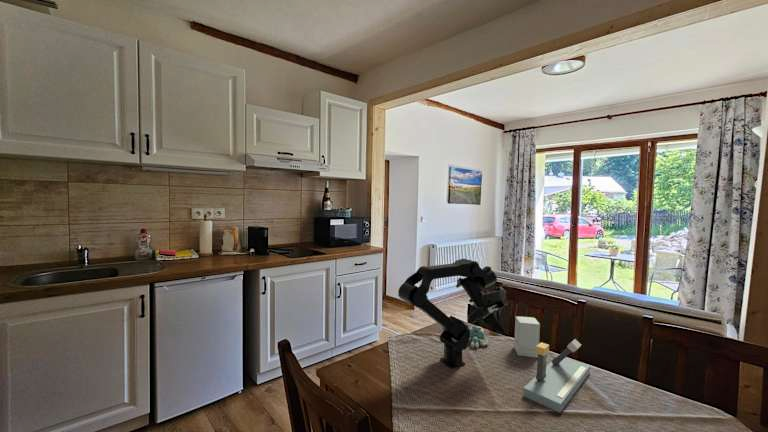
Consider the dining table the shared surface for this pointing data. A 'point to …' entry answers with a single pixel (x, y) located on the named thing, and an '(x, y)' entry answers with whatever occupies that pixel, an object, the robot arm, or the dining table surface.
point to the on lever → (566, 352)
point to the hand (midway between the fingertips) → (504, 332)
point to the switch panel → (557, 384)
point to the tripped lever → (541, 360)
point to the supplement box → (526, 336)
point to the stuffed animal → (477, 337)
